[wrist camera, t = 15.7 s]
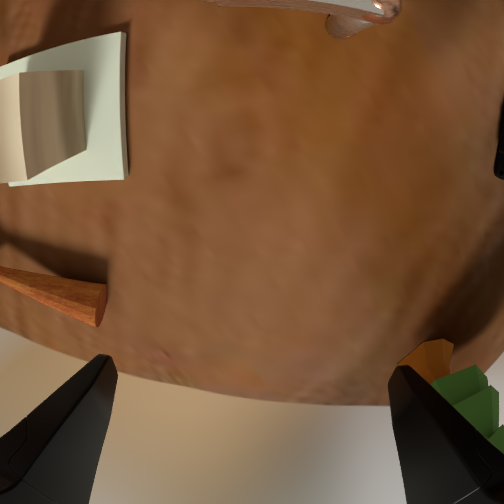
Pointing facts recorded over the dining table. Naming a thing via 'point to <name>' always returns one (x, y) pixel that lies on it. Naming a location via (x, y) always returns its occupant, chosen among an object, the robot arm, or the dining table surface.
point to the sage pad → (88, 106)
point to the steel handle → (333, 12)
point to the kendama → (60, 293)
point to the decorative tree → (460, 388)
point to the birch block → (40, 122)
